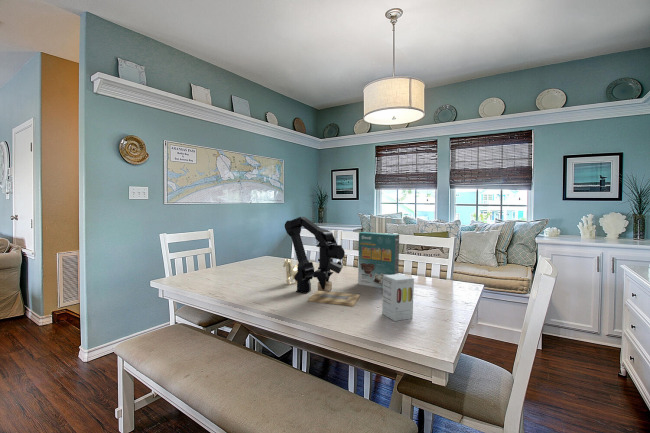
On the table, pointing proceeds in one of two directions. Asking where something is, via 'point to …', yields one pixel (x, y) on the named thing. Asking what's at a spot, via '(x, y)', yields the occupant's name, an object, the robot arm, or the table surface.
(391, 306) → the supplement box
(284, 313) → the table surface
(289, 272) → the unicorn
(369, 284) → the cake mix box
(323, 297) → the board
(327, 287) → the block
